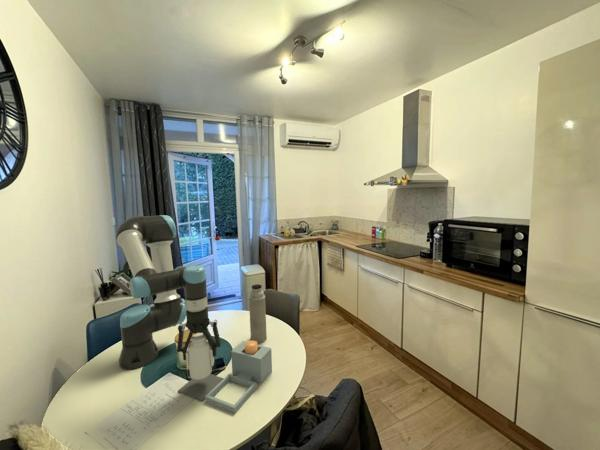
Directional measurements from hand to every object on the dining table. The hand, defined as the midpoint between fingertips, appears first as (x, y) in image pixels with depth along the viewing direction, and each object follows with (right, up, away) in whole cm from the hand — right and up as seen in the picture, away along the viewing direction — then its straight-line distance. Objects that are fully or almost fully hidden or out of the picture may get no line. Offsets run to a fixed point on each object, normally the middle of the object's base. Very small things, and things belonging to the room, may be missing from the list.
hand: (200, 365), depth 100 cm
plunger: (+18, -2, +7) cm, 20 cm away
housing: (+15, -8, +1) cm, 17 cm away
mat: (0, -8, +1) cm, 8 cm away
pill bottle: (0, -3, 0) cm, 3 cm away
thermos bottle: (+17, -5, +34) cm, 38 cm away
